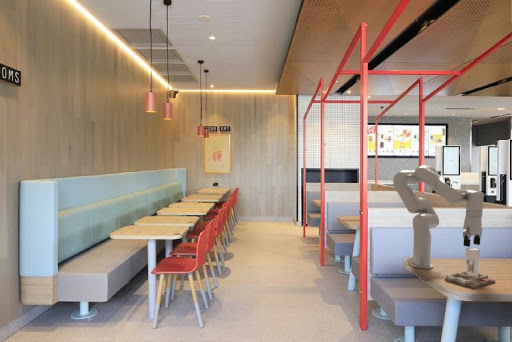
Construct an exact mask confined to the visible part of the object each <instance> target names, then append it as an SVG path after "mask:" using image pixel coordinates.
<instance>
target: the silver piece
mask: <svg viewBox="0 0 512 342" xmlns="http://www.w3.org/2000/svg"><path fill="white" fill-rule="evenodd" d="M464 257H465V259H464V260H465V267H466V270H465V271H466V275H468V276H471V277H475V278H478V277H479V276H478V273H479V268H480V264H481V249H480V248H476V247H475V248H474V247H466V248H465V256H464Z"/></svg>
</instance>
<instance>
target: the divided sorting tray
mask: <svg viewBox="0 0 512 342" xmlns="http://www.w3.org/2000/svg"><path fill="white" fill-rule="evenodd" d="M466 271H467V270H464V271H459V272H456V273H452V274H448V275H446V277H444V281H446V282H450V283H453V284H457V285H459V286H463V287H467V288H470V289H473V290H475V289H478V288H483V287H485V286H488V285H492V284H495V283H496V280H495V279H492V278H489V275H488V274H483V273H480V272H478V276H479V277H478V278H475V277H471V276H468V275H466Z"/></svg>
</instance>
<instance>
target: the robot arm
mask: <svg viewBox="0 0 512 342" xmlns="http://www.w3.org/2000/svg"><path fill="white" fill-rule="evenodd" d="M392 179H393V180H392V183H393V187H394V189H395V192H397V194H398V196H399V197H400V199H401V201H402V203H403V205H404V206H405V208H406V210H407V212H409V213H410V214H416V215H415V216H414V217H413V218H412V227H413V229H412V230H413V247H412V248H413V250H412V251H413V256H411V255H408V257H407V260H409V261H410V262H409V264H410V266H411V267H415V268H418V269H433V268H434V265H433V264H432V263H431V254H432V253H431V250H432V248H431V247H432V234H431V231H430V229H434V228H437V227H438V226H439V224H440V218H439V215H438V214H437V213H436V211H435V209H434V208H433V205H432V204H431V203H430V201H428V200H427V198H424V197H418V196H417V195H416V193H415V191H414V190H413V189H412V188H411V187H410V186H409V185H414V184H419V183H424V184H426V185H427V186H429V187H431V188H432V189H434V191H435V192H436V193H437V194H438V196H440V197H442V198H444V199H445V200H447V201H448V202H451V203H452V204H459V203H460V204H461V203H466V207H465V217H464V221H463V227H462V236H463V238H462V239H463V247H466V248H471V237H472V236H473V244H474V245H477V246H481V237H482V233H483V228H482V226H483V225H482V221H483V220H482V218H483V210H484V196H485V195H484V192H482V191H480V190H469V189H465V188H454V187H453V186H450V185H449V184H447V183H446V181H445V177H444V176H443V175H441V174H439V173H437V169H435V168H434V167H433V166H431V165H421V166H417V167H415V169H414V170H400V171H397V172H396V173H395V174H394V176H393V178H392Z"/></svg>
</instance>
